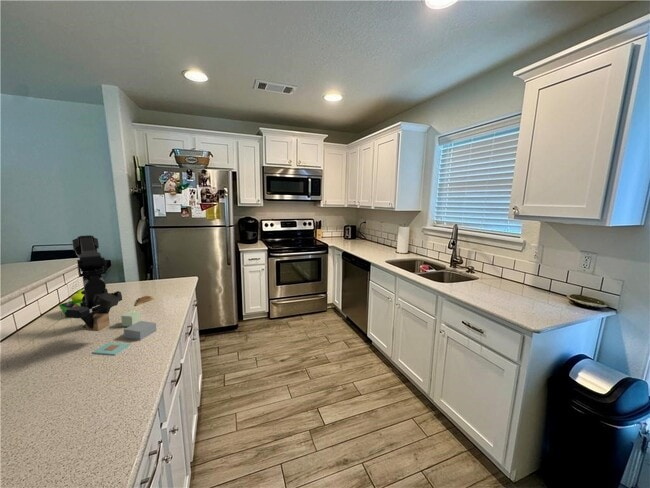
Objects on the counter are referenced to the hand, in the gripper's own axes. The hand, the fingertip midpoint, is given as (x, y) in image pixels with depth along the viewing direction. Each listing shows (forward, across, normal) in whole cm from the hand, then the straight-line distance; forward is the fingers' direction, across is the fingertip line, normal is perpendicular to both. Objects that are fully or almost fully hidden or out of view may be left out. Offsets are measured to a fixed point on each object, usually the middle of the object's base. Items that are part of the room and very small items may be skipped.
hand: (98, 325), depth 105 cm
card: (+7, -4, -9) cm, 12 cm away
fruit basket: (+7, +22, +34) cm, 41 cm away
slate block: (+8, +8, -11) cm, 16 cm away
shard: (+8, +42, +14) cm, 45 cm away
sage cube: (+7, +16, 0) cm, 18 cm away
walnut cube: (+1, 0, 0) cm, 1 cm away
